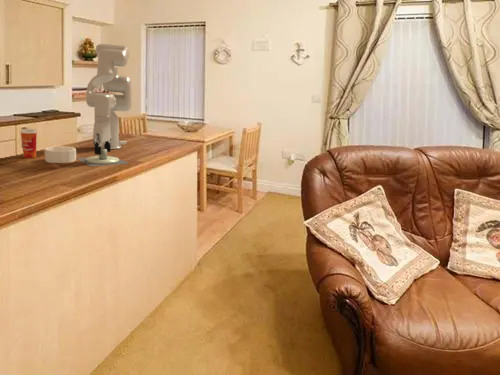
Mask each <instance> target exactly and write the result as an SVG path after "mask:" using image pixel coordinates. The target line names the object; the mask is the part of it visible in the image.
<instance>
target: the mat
mask: <svg viewBox="0 0 500 375" xmlns="http://www.w3.org/2000/svg"><path fill="white" fill-rule="evenodd" d="M110 156H111V157H116V156H115V155H110ZM86 158H87V157H76V160H79V161H80V162H81V163H83V164H85V165H87V166H89V167H91V168H92V167H103V166H105V167H106V166H114V165H117V166H118V165H129V164H130V163H129V162H127V161H125V160H124V159H121V158H119V162H118V163H114V164H93V163H89V162H87V161H86ZM116 158H118V157H116Z"/></svg>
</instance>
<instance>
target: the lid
mask: <svg viewBox="0 0 500 375" xmlns="http://www.w3.org/2000/svg"><path fill="white" fill-rule="evenodd" d="M111 156H112V155H108V152H107V149H103V148H101V155H94V156H93V155H92V156H88V157H85V158H86V161H87V162H89V163H93V164H114V163H118V162H119V159H120V158H119V157H117V158H116V156H115V157H111Z"/></svg>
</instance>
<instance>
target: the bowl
mask: <svg viewBox="0 0 500 375" xmlns="http://www.w3.org/2000/svg"><path fill="white" fill-rule="evenodd" d="M43 150H44V151H43V152H44V159H45V160H44V161H45V162H46V163H49V164H57V163H58V164H64V163H66V164H67V163H72V162H73V163H74V162H75V161H76V160H77V159H76V158H77V148H75V147H72V146H63V145H61V146H59V145H58V146H57V145H56V146H47V147H45V148H44V149H43Z"/></svg>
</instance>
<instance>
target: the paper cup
mask: <svg viewBox="0 0 500 375" xmlns="http://www.w3.org/2000/svg"><path fill="white" fill-rule="evenodd" d="M19 132H20V137H21V145H22V154H23V158H25V159H34V158H37V133H38V131H37V130H36V129H35V128H21V129H20V131H19Z"/></svg>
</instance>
